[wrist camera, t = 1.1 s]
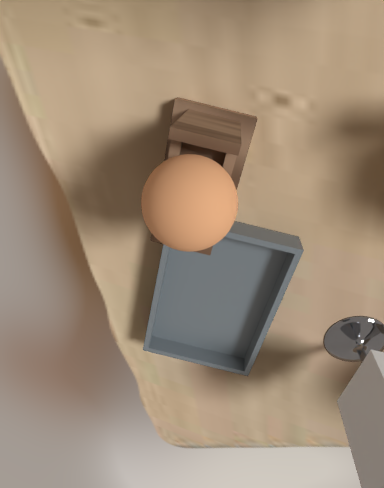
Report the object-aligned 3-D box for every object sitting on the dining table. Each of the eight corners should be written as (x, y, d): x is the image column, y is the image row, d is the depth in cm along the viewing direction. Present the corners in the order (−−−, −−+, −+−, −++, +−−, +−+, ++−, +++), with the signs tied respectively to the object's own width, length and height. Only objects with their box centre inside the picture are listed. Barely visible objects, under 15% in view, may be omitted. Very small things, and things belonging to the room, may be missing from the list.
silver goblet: (312, 358, 41) (347, 495, 28) (331, 308, 37) (382, 440, 24) (377, 368, 41) (444, 513, 28) (404, 319, 37) (496, 460, 24)
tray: (173, 206, 34) (168, 217, 31) (298, 236, 34) (303, 250, 31) (148, 333, 42) (142, 350, 40) (247, 358, 42) (247, 376, 40)
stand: (177, 97, 29) (150, 112, 20) (256, 116, 29) (265, 141, 20) (160, 193, 33) (132, 242, 24) (229, 210, 33) (226, 265, 24)
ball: (160, 134, 22) (136, 157, 17) (248, 156, 22) (252, 185, 17) (147, 215, 25) (123, 256, 20) (225, 234, 25) (222, 280, 20)
